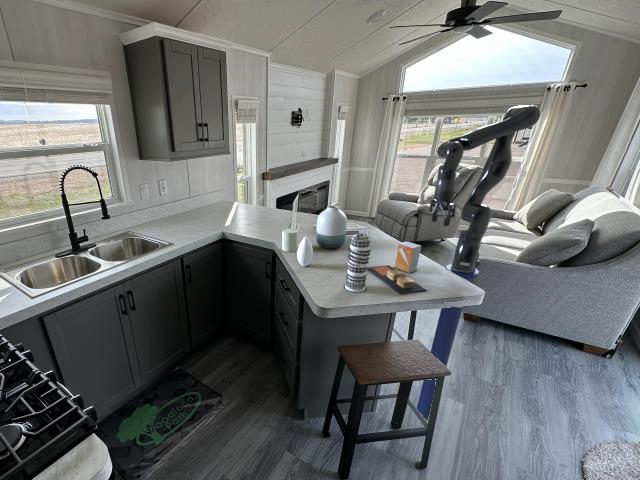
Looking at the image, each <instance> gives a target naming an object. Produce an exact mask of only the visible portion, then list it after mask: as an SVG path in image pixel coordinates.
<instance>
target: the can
mask: <svg viewBox="0 0 640 480" xmlns="http://www.w3.org/2000/svg"><path fill="white" fill-rule="evenodd" d="M281 233H282V234H281V250H282V251H283V252H287V253H293V252H297V251H298V236H299V235H298V233H299V231H298V229H296V228H284V229H282V230H281Z"/></svg>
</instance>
